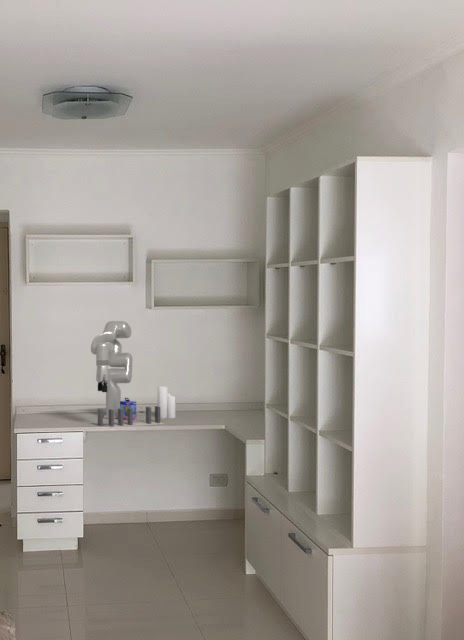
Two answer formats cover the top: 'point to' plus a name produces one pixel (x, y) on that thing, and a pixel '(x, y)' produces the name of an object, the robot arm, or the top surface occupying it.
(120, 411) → the domino
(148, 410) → the domino
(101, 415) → the domino
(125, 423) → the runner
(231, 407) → the top surface
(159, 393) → the white tube cluster
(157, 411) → the domino
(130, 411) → the domino
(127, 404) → the ink cartridge box
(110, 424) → the domino
